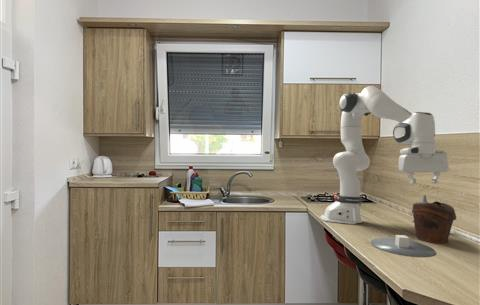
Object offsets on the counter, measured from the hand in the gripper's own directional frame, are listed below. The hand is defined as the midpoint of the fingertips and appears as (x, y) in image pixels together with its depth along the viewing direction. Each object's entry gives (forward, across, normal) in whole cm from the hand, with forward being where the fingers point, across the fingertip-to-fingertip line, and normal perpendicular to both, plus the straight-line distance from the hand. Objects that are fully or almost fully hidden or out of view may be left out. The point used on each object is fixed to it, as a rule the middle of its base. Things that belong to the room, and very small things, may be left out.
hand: (423, 183), depth 138 cm
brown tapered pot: (+27, -15, -17) cm, 35 cm away
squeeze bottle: (+26, -24, -36) cm, 51 cm away
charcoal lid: (+27, +8, -3) cm, 29 cm away
